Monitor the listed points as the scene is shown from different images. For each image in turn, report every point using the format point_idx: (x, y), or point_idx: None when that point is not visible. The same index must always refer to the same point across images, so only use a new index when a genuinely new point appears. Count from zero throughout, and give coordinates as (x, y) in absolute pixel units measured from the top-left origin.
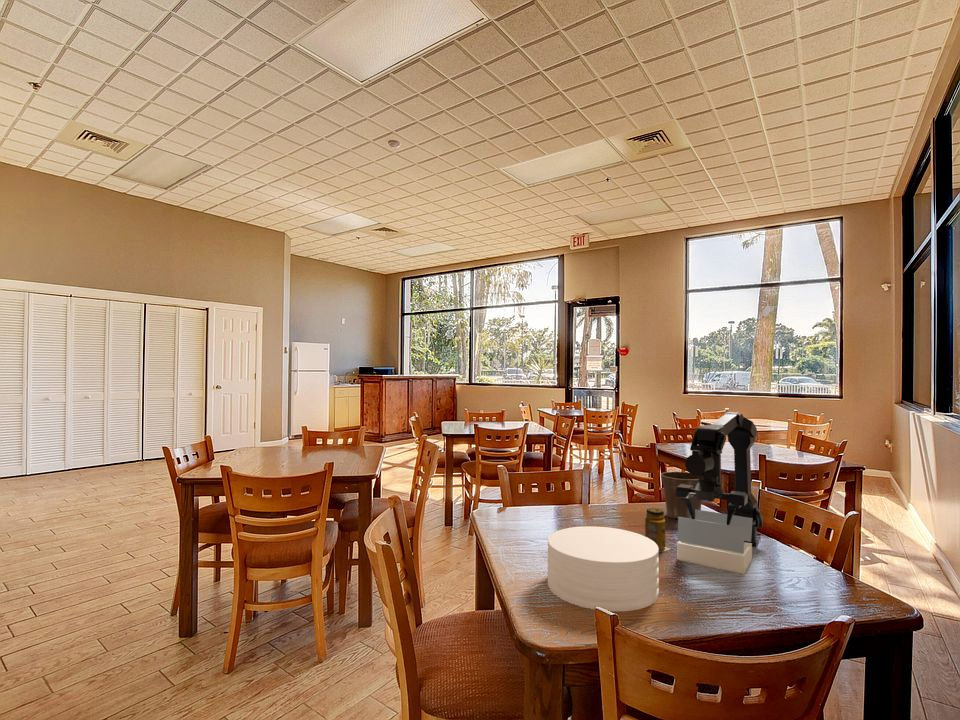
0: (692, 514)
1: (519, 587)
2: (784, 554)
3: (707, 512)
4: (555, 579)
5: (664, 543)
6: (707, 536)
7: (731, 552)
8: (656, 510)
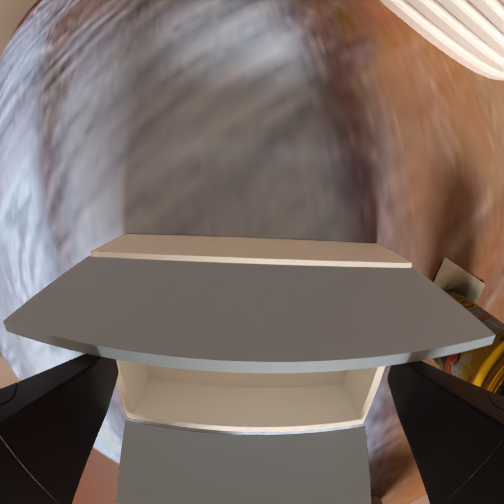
0: (441, 380)
1: None
2: (109, 439)
3: None
4: None
5: None
6: (270, 290)
7: (201, 391)
8: None
